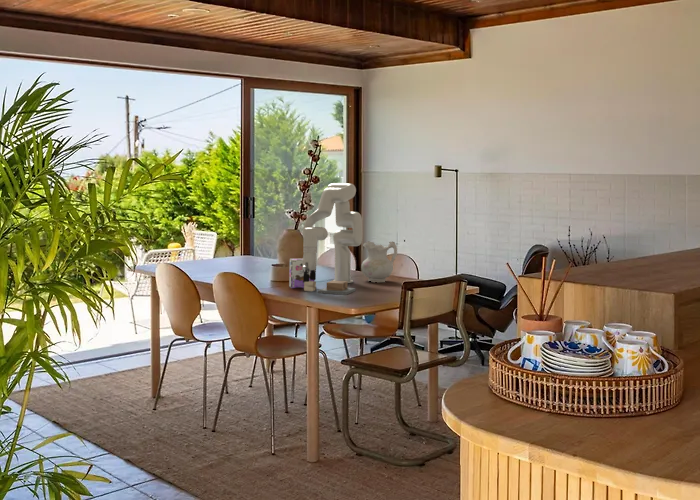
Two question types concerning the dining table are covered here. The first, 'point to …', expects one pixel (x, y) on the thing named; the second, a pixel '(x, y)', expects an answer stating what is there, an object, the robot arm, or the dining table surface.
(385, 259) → the ceramic pitcher
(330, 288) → the grey brown stepped pedestal
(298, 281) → the candy box
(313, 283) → the maple cube
